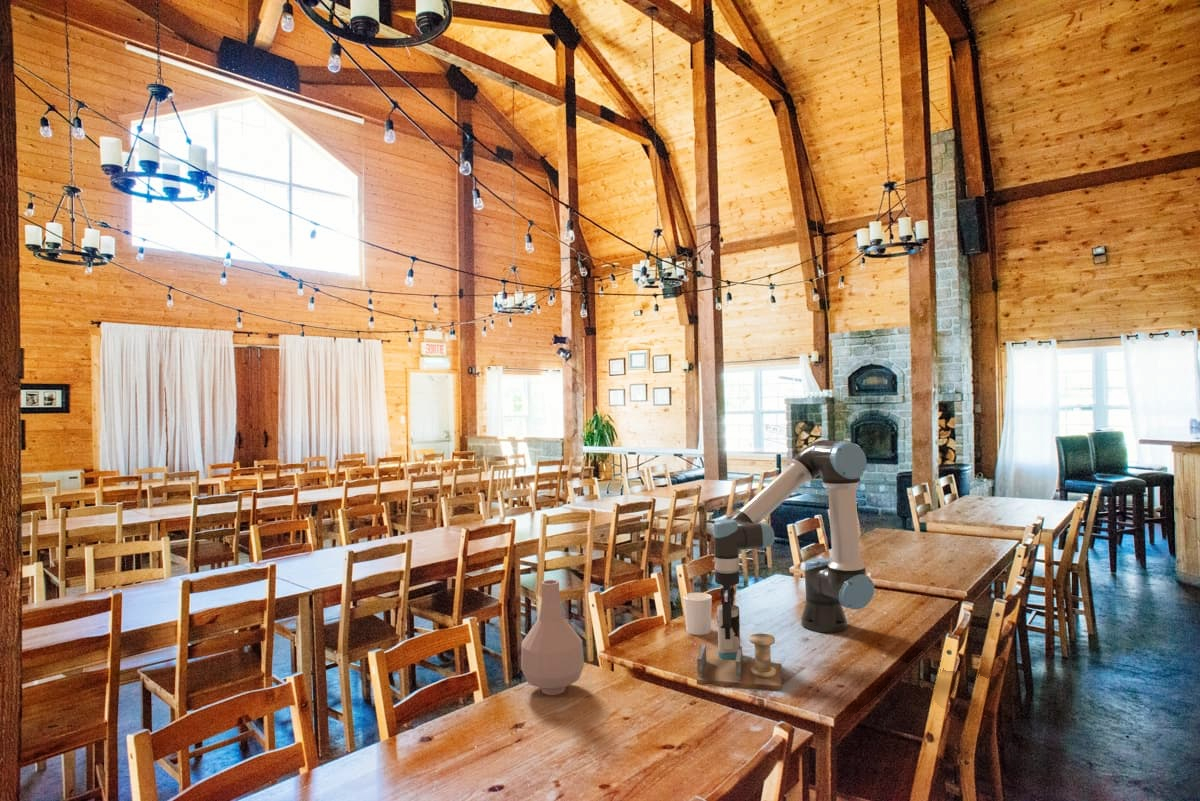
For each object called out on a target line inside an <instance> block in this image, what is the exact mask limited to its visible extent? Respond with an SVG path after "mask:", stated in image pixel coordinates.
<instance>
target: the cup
mask: <svg viewBox="0 0 1200 801" xmlns="http://www.w3.org/2000/svg"><path fill="white" fill-rule="evenodd" d="M716 612H717V613H716V616H717V617H716V619H717V642H718V643H717V646H718V648H717V649H718V657H719V658H720V659H722V660H736V656H737V649H738V646H741V630H740V627H741V626H740V625H741V624H740V622H741V621H740V606H738V605H735V604H733V605H732V606H731V622H732V636H733V650H730V649H724V642H723V628H721V626H722V625H723V617H722V604H718V605H717V606H716Z"/></svg>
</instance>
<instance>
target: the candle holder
mask: <svg viewBox="0 0 1200 801" xmlns="http://www.w3.org/2000/svg"><path fill="white" fill-rule="evenodd" d="M682 596H683V607H684V609H683V610H684V620H685V629H686V633H688V634H689V635H693V636H705V634H706V635H709V634H710V633H711V630H712V602H713V601H712V599H713V597H712V595H711V594H708V593H705V592H688V593H686V594H683V595H682Z"/></svg>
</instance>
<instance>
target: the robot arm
mask: <svg viewBox="0 0 1200 801" xmlns="http://www.w3.org/2000/svg"><path fill="white" fill-rule="evenodd" d="M866 469H867V458H866V454H865V452H864V451H863V449H862V448H861V447H860V446H859V445H857V444H856V443H854V442H850V441H846V440H827V439H826V440H825V439H822V440H817V441H814V442H813V443H810V444H809V445H807V446H806V447H805V448H803V449H802V450H801V451H800V452H798V453H797V454H796V455H794V457H792V458H791V459H790V460H789V465H788V466H787V467H785V469H784V470H783V471H781V473H779V474H778V475H777V476H776V477H775V478H773V479H772V480H771V481H770V482H769V483H768V484H767V485H766V486H765V487H764V488H762V490H761V491H759V492H758V493H757V494H756V495H754V497H753V498H751V499H750V500H749V501H748V502H747V503H746V504H745V505H744V506H743V507H742V508H740V509H739V510H738V511H737V512H736V513H735V514H734V515H732V516H731V515H729V516H725V517H723V518H721V519H717V520H715V521H714V522H713V529H712V530H713V533H712V538H713V552H714V554H713V556H714V558H713V559H712V561H711V562H712V563H714V569H715V571H714V582H715V583H716V584H717V585H720V586H722V587H721V589H720V596H721V605H722V617H723V625H722V626H721V628H723V642H724V649H730V650H733V636H732V622H731V606H732V605H734V601H735V587H734V586H736V585H737V586H738V584H740V572H739V570H740V555H739V554H740V551H743V550H754V549H765V548H771V547H772V546H773V545H774V543H775V540H776V539H775V531H774V528H773V527H772V526H771V524H769V523H768V522H767V523H763V522H762V521H763V520H765V519H766V518H767V517H768V516H769V515H770V514H771V513H773V512H774V510H776V509H777V508H778V507H779V506H781V505H782V503H784V502H785V501H786V500H787V499H788V498H790V497H791V495H792V494H793V493H795V492H796V491H797V489H799V488H800V487H801V486H802V485H803V484H804V483H805V482H811V481H812V480H813V479H815V478H816V477H818V476H821V477H822V484H823V485H825V487H827V494H828V511H829V526H830V527H829V528H830V541H831V545H830V546H831V557H826V558H825V557H821V558H818V557H817V558H810V559H807V560H806V561H805V563H804V581H805V584H804V586H805V605H804V608H803V611H802V614H801V618H800V619H801V620H800V622H801V626H802V627H803V628H804V629H807V630H810V631H813V632H819V633H841V632H843V631H846V630H847V629H848V619H847V617H846V614H845V611H844V608H845V609H851V610H861V609H864V608H865V607H867V606H868V605H869V603H870V602H871V601H872V600H873V597H874V594H875V583H874V581H873V580H872V579H871V578H870V577H869V576H868V575H867V574H866V573H867V571H866V570H867V569H866V568H867V567H866V564H865V563H863V561H862V560H861V554H860V539H859V538H860V537H859V535H860V534H859V523H858V508H857V507H858V506H857V505H858V504H857V490H856V489H857V488H856V487H857V486H859V484H860V483H861V476H863V474H864V472H866ZM843 607H844V608H843Z"/></svg>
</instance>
